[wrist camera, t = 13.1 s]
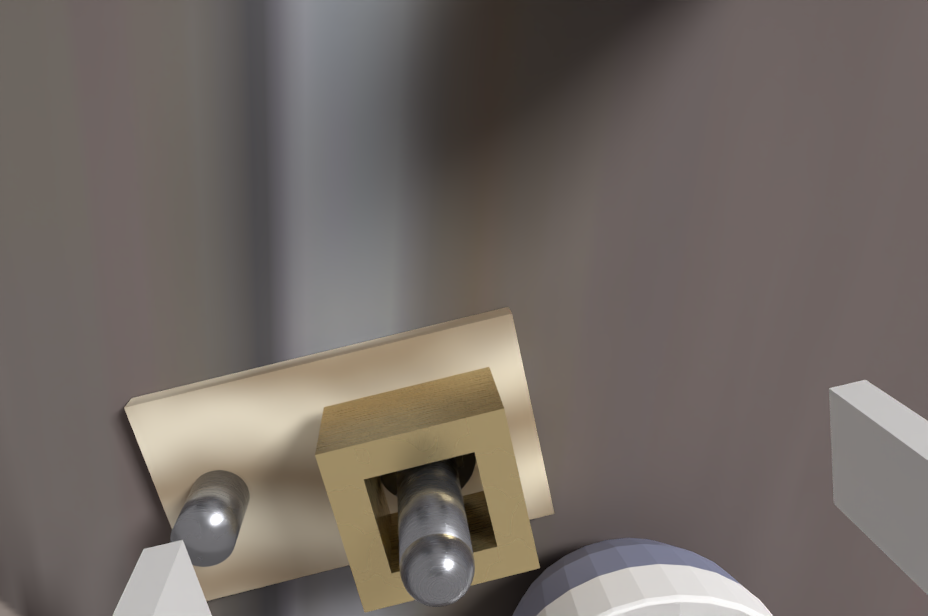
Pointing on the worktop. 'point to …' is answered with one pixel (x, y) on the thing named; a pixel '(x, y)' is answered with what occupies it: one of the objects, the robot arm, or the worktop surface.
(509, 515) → the brass collar
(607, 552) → the bowl
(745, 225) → the worktop surface
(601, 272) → the worktop surface
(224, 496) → the short steel post
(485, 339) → the birch board
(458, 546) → the tall steel post
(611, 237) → the worktop surface
